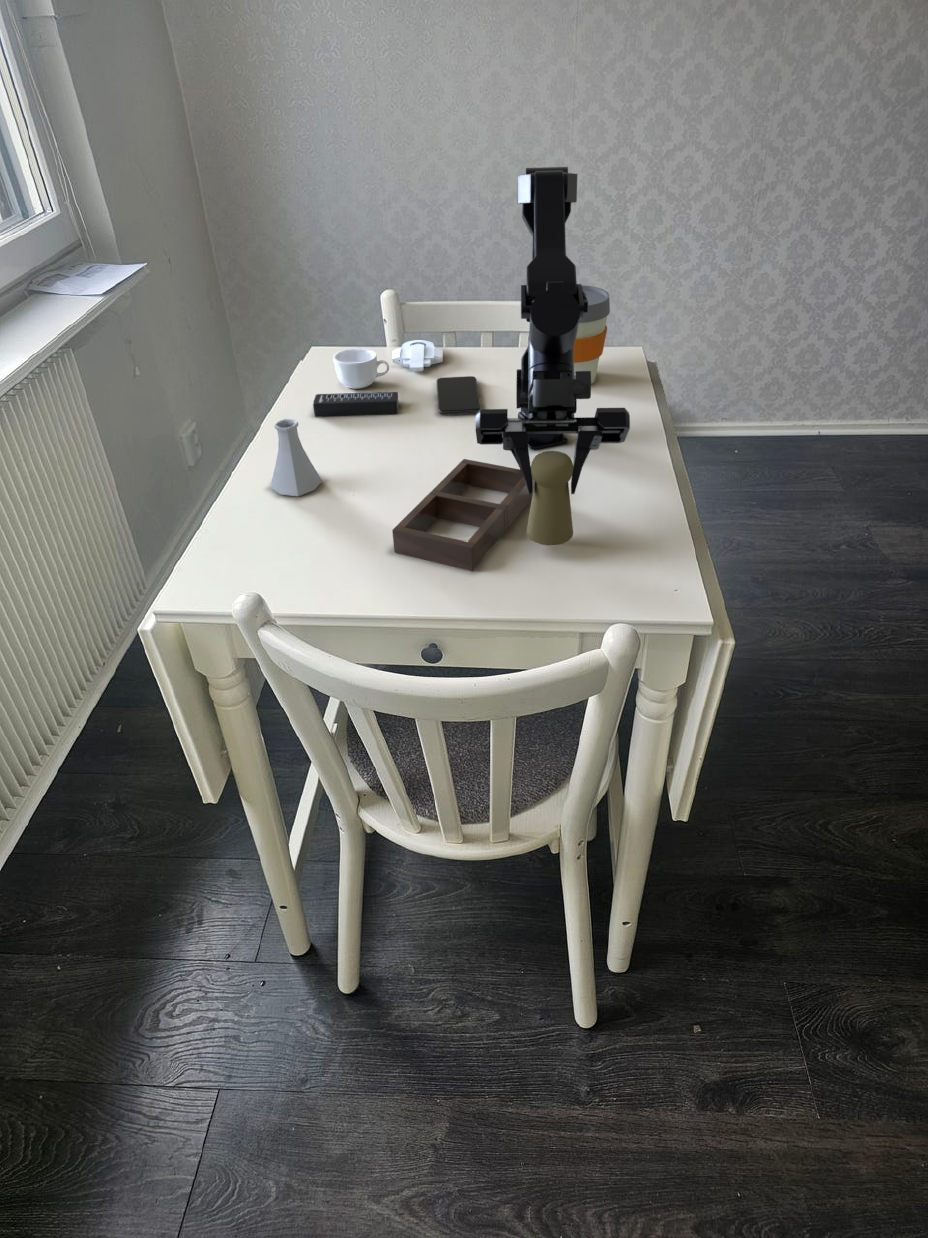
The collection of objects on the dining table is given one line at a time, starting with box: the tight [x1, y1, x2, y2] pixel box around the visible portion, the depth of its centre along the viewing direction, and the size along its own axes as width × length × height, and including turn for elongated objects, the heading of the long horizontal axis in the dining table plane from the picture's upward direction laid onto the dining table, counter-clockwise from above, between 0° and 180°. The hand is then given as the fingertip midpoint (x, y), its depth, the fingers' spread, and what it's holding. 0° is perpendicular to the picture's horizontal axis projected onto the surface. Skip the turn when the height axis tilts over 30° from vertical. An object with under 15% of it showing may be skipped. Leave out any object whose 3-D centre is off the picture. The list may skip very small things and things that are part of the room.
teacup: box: [333, 348, 390, 390], centre depth 157 cm, size 10×8×5 cm
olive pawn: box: [526, 450, 574, 547], centre depth 107 cm, size 6×6×11 cm
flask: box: [270, 418, 323, 497], centre depth 125 cm, size 7×7×10 cm
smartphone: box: [436, 375, 482, 416], centre depth 152 cm, size 7×1×15 cm
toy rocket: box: [391, 339, 444, 372], centre depth 167 cm, size 16×10×2 cm, turn 1°
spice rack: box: [391, 458, 535, 572], centre depth 117 cm, size 22×11×4 cm, turn 155°
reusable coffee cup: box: [574, 284, 611, 385], centre depth 153 cm, size 13×13×15 cm
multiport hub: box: [312, 391, 400, 418], centre depth 148 cm, size 4×14×2 cm, turn 90°
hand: (551, 493), depth 105 cm, fingers closed on olive pawn, 5 cm apart
